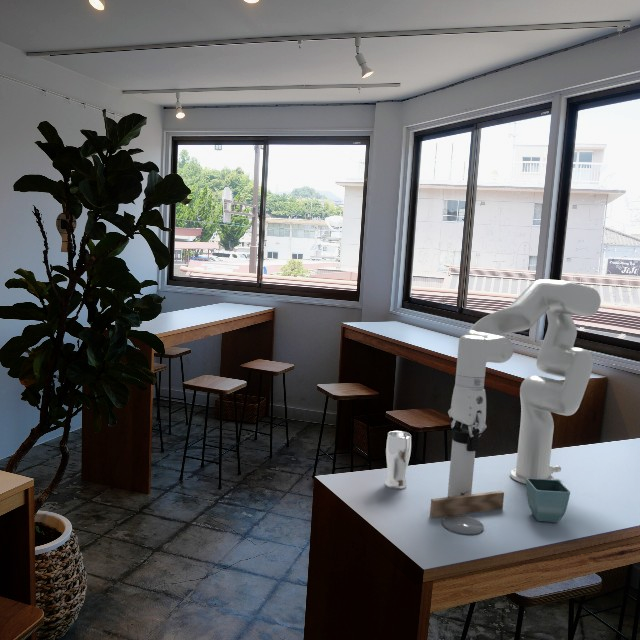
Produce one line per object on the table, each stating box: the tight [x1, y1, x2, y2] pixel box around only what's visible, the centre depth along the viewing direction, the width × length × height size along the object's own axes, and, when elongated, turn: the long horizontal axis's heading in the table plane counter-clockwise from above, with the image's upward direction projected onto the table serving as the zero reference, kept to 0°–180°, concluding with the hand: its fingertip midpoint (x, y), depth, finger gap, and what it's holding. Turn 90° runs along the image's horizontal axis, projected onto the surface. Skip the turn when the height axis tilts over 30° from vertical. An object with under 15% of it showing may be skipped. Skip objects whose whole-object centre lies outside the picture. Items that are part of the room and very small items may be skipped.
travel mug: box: [446, 427, 476, 497], centre depth 170 cm, size 6×7×20 cm
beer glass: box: [384, 430, 412, 490], centre depth 178 cm, size 7×7×15 cm
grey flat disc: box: [441, 514, 485, 536], centre depth 155 cm, size 10×10×1 cm
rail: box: [429, 490, 505, 519], centre depth 163 cm, size 22×1×4 cm, turn 113°
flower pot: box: [525, 478, 571, 523], centre depth 162 cm, size 9×9×9 cm
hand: (464, 446), depth 169 cm, fingers closed on travel mug, 6 cm apart
